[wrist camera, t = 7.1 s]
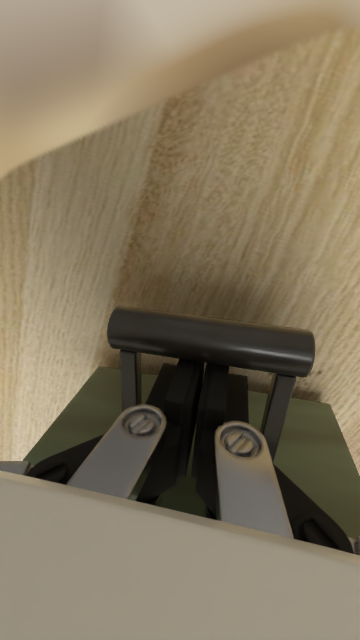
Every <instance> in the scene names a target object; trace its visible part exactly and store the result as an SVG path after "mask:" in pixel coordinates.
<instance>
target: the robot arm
mask: <svg viewBox="0 0 360 640" xmlns="http://www.w3.org/2000/svg"><path fill="white" fill-rule="evenodd" d="M204 365H205V362H199V361H192V360H186V359H179V361H178V364H177V365H172V364H166V363H164V364H163V365H162V368H161V370H160V372H159V374H158V376H157V379H156V381H155V383H154V385H153V387H152V390H151V392H150V394H149V396H148V399H147V401H146V403H145V404H139V405H135V406H131V407H129V408H127V409H126V410H124V411H123V412H122V413H121V414H120V415H119V417H118V418H117V419H116V421H115V422H114V423H113V424H112V426H111V427H110V428H109V430H108V431H107V432H106V433H105V434H103V435H100V436H98V437H96V438H93V439H91V440H88V441H86V442H84V443H81V444H79V445H76V446H74V447H72V448H69V449H67V450H64V451H62V452H60V453H57V454H55V455H52V456H50V457H48V458H46V459H44V460H42V461H40V462H38V463H37V464H36V465H31V464H30V461H0V640H360V537H359V536H358V537H357V539H356V540H355V539H352V538H350V537H348V536H347V535H346V534H345V532H344V531H343V530H342V529H341V528H340V526H339V525H338V524H337V523H336V522H335V521H334V520H333V519H332V518H331V517H330V516H329V515H328V514H326V513H325V512H324V511H323V510H322V509H321V508H320V507H319V506H318V505H317V504H316V503H315V502H314V501H313V500H312V499H311V498H309V497H308V496H307V495H306V494H305V493H304V492H303V491H302V490H301V489H300V488H299V487H298V486H297V485H296V484H295V483H293V482H292V481H291V480H290V479H289V478H288V477H287V476H286V475H285V474H284V473H283V472H282V471H281V470H280V469H279V468H278V467H276V466H275V465H274V464H273V463H272V459H271V456H270V452H269V449H268V445H267V442H266V440H265V437H264V435H263V434H262V433H261V432H260V431H259V430H258V429H257V428H255V427H254V426H252V425H250V424H249V409H248V378H247V376H243V375H236V374H230V373H228V372H229V366H225V365H219V364H212V363H207V364H206V369H205V374H204ZM203 374H204V379H203ZM195 427H196V431H195ZM194 432H195V441H194V450H193V460H192V470H191V478H193V479H196V488H195V491H196V492H197V493H198V495H199V496H200V497H201V499H202V500H203V502H204V503H205V508H204V517H201V516H196V515H192V514H188V513H184V512H180V511H175V510H171V509H167V508H163V507H160V504H161V502H162V499H163V495H164V492H165V491H167V490H168V489H170V488H172V487H173V486H178V481H179V476H184V477H186V473H187V468H188V463H189V458H190V452H191V447H192V442H193V437H194Z"/></svg>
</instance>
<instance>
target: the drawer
mask: <svg viewBox="0 0 360 640" xmlns="http://www.w3.org/2000/svg"><path fill="white" fill-rule="evenodd" d="M107 337H108V343H109V345H110V347H112V348H114V349H120V370H119V369H113V368H107V367H101V366H99V367H98V368H97V369H96V371H95V372H94V373H93V374H92V376H91V377H90V378H89V379H88V381H87V382H86V383H85V384H84V385H83V387H82V388H81V389H80V390H79V392H78V393H77V394H76V395H75V397H74V398H73V399H72V400H71V402H70V403H69V404H68V405H67V406H66V408H65V409H64V410H63V411H62V413H61V414H60V415H59V416H58V418H57V419H56V420H55V421H54V423H53V424H52V425H51V426H50V427H49V429H48V430H47V431H46V432H45V434H44V435H43V436H42V437H41V439H40V440H39V441H38V442H37V444H36V445H35V446H34V447H33V448H32V450H31V451H30V452H29V453H28V455H27V456H26V457H25V458H24V460H23V461H30V464H31V465H36V464H37V463H38V462H40V461H42V460H44V459H46V458H48V457H50V456H52V455H55V454H57V453H60V452H62V451H64V450H67V449H69V448H72V447H74V446H76V445H79V444H81V443H84V442H86V441H88V440H91V439H93V438H96V437H98V436H100V435H103V434H105V433H106V432H107V431H108V430H109V428H110V427H111V426H112V424H113V423H114V422H115V421H116V419H117V418H118V417H119V415H120V414H121V413H122V412H123V411H124V410H126V409H127V408H129V407H131V406H135V405H139V404H145V403H146V401H147V399H148V396H149V394H150V392H151V390H152V387H153V385H154V383H155V381H156V379H157V376H156V375H150V374H144V373H141V353H146V354H153V355H160V356H166V357H173V358H179V359H186V360H192V361H199V362H205V363H212V364H219V365H225V366H232V367H238V368H245V369H251V370H258V371H264V372H271V373H273V375H272V379H271V384H270V388H269V392H268V394H266V393H259V392H253V391H248V409H249V424H250V425H252V426H254V427H255V428H257V429H258V430H259V431H260V432H261V433H262V434H263V435H264V437H265V440H266V442H267V445H268V449H269V452H270V456H271V459H272V463H273V464H274V465H275V466H276V467H278V468H279V469H280V470H281V471H282V472H283V473H284V474H285V475H286V476H287V477H288V478H289V479H290V480H291V481H292V482H293V483H295V484H296V485H297V486H298V487H299V488H300V489H301V490H302V491H303V492H304V493H305V494H306V495H307V496H308V497H309V498H311V499H312V500H313V501H314V502H315V503H316V504H317V505H318V506H319V507H320V508H321V509H322V510H323V511H324V512H325V513H326V514H328V515H329V516H330V517H331V518H332V519H333V520H334V521H335V522H336V523H337V524H338V525H339V526H340V528H341V529H342V530H343V531H344V532H345V534H346V535H347V536H348V537H350V538H352V539H355V540H356V539H357V537H358V536H359V537H360V476H359V473H358V471H357V469H356V466H355V464H354V461H353V459H352V456H351V454H350V451H349V449H348V447H347V444H346V442H345V439H344V437H343V434H342V432H341V430H340V427H339V425H338V422H337V420H336V417H335V415H334V413H333V410H332V408H331V405H330V404H327V403H320V402H314V401H308V400H302V399H296V398H291V397H292V393H293V389H294V386H295V382H296V376H297V377H307V376H308V375H309V373H310V371H311V369H312V366H313V362H314V357H315V339H314V335H313V333H312V332H311V331H310V330H304V329H297V328H289V327H281V326H273V325H265V324H257V323H250V322H242V321H234V320H226V319H218V318H211V317H203V316H195V315H187V314H179V313H172V312H164V311H156V310H148V309H140V308H132V307H125V306H118V307H116V308H115V309H114V310H113V312H112V314H111V316H110V319H109V323H108V330H107ZM195 431H196V427H195ZM194 441H195V432H194V437H193V442H192V447H191V452H190V458H189V463H188V468H187V473H186V477H184V476H179V481H178V486H173V487H172V488H170V489H168V490H167V491H165V492H164V495H163V499H162V502H161V504H160V507H163V508H167V509H171V510H175V511H180V512H184V513H188V514H192V515H196V516H201V517H204V508H205V503H204V502H203V500H202V499H201V497H200V496H199V495H198V493H197V492H196V491H195V488H196V479H193V478H191V470H192V460H193V450H194Z"/></svg>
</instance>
